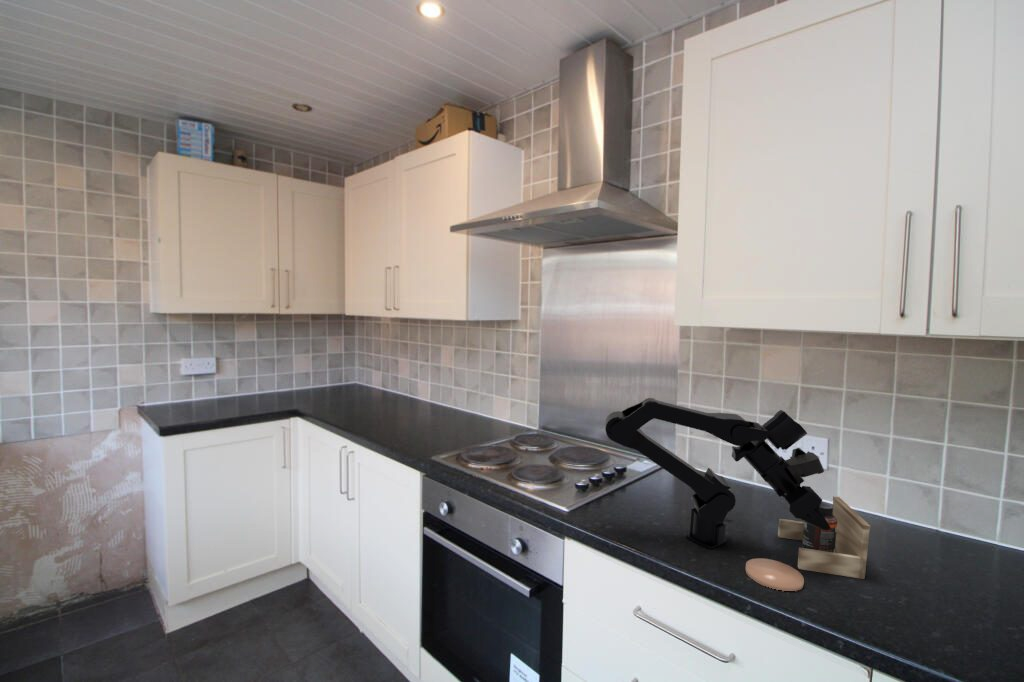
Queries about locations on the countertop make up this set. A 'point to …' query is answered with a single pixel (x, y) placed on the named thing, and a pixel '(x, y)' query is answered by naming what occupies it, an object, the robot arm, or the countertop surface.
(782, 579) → the peach rounded disc
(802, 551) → the wooden bench
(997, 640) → the countertop surface
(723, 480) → the robot arm
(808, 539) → the supplement bottle
